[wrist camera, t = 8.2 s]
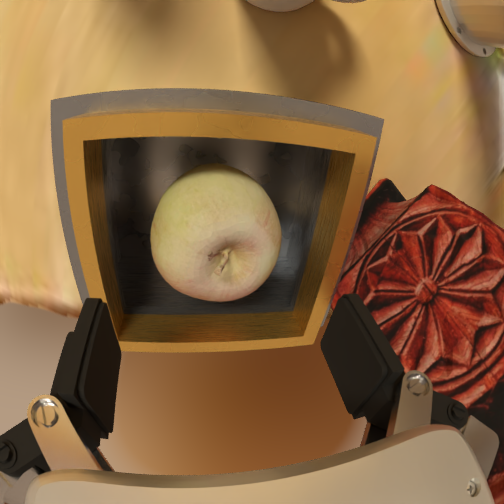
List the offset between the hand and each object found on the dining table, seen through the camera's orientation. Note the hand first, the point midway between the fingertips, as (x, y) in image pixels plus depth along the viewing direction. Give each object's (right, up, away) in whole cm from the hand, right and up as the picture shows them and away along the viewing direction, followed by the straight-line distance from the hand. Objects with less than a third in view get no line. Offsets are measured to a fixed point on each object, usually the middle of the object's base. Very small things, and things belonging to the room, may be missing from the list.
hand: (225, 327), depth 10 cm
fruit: (-2, +6, +9) cm, 11 cm away
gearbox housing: (-3, +9, +14) cm, 17 cm away
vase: (+15, +5, +20) cm, 26 cm away
